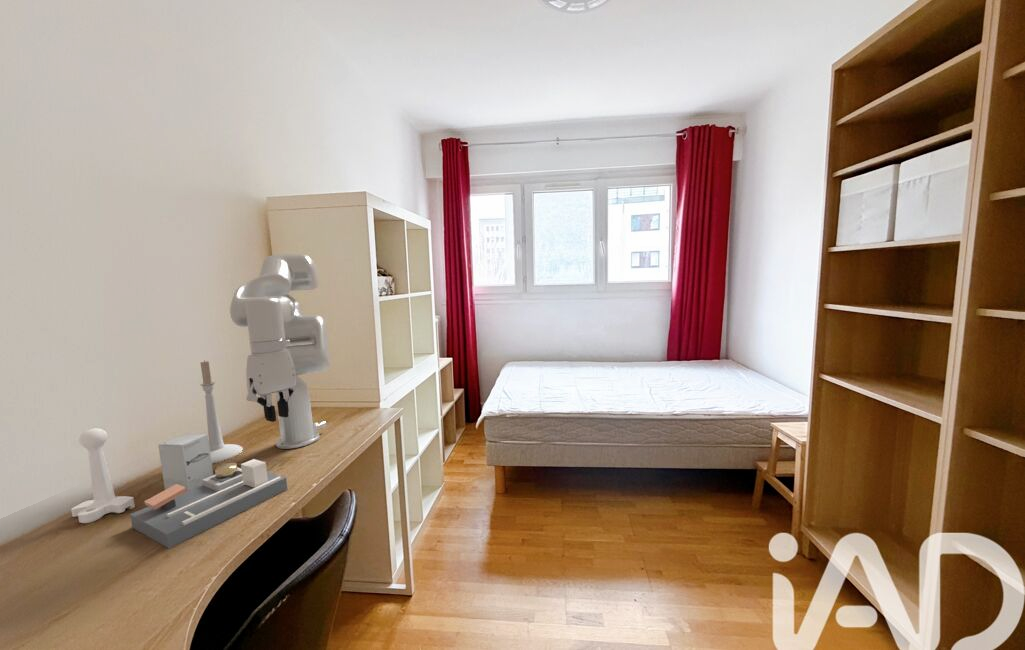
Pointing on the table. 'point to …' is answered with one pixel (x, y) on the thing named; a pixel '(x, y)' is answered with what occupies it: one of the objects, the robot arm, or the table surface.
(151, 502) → the rocker switch
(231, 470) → the push button
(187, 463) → the supplement box
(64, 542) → the table surface
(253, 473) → the white slider block
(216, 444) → the candlestick
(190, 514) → the control panel
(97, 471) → the joystick
